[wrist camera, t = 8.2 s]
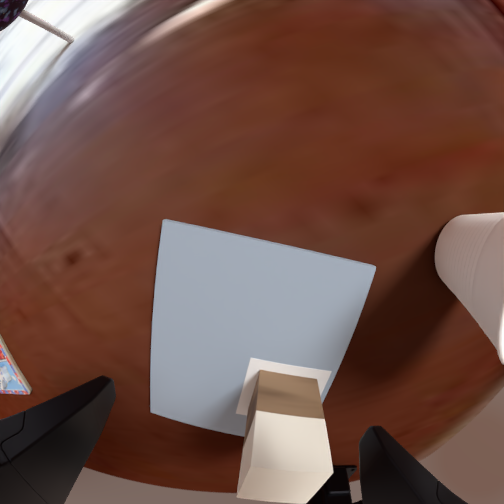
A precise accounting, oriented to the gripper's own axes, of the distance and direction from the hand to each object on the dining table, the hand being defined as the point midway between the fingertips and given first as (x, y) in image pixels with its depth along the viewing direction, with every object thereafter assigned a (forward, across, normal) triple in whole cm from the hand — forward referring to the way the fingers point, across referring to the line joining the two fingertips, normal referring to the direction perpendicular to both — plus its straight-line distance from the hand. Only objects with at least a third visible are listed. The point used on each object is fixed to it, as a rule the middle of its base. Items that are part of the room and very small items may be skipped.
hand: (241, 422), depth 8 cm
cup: (+14, -16, -6) cm, 22 cm away
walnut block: (+12, -4, +10) cm, 17 cm away
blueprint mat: (+13, 0, +7) cm, 15 cm away
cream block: (+8, -4, +10) cm, 13 cm away
